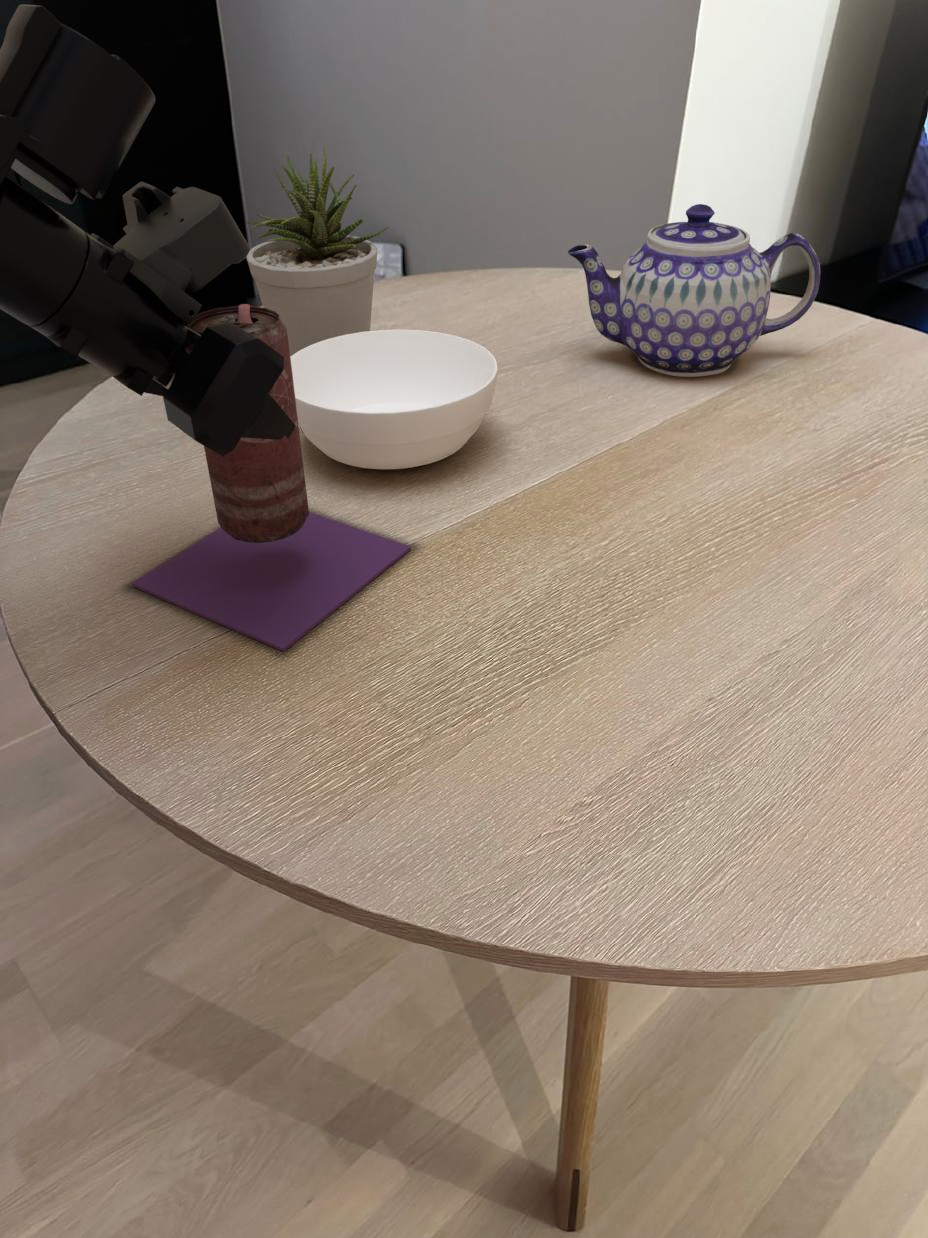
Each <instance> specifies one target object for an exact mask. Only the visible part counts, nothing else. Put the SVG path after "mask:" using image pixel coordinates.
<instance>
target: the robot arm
mask: <svg viewBox="0 0 928 1238" xmlns="http://www.w3.org/2000/svg"><path fill="white" fill-rule="evenodd" d="M156 100H157V99H156V95H155V93H154V92H153V90H152V89H151V87H150V86H149V85H148V83H147V82H146V80H144V78H143V77H142V76H141V75H140V74H139V73H138V72H137V70H136V69H134V68H133V67H132V66H131V65H130V64H129V63H128V62H127V61H126V60H125V59H124V58H122V57H121V56H119V55H117V54H111V53H109V52H108V51H107V50H106V49H105V48H103V47H102V46H101V45H99V44H98V43H96V42H94V41H93V40H92V39H90V38H89V37H87V36H86V35H84V34H83V33H81V32H79V31H77V30H76V29H74V28H72V27H70V26H68V25H66V24H64V23H62V22H61V21H60V20H59V19H58V18H56V17H55V15H53V14H52V13H51V12H50V11H49V10H48V9H47V8H46V7H45V6H43V5H37V4H36V5H35V4H19V5H18V6H17V8H16V10H15V12H14V14H13V16H12V17H11V18H10V20H9V22H8V25H7V27H6V31H5V36H4V39H3V43H2V45H1V47H0V310H1V311H2V312H4V313H5V314H6V315H7V314H8V315H9V316H11V317H13V318H14V319H16V320H17V321H19V322H21V323H23V324H24V325H26V326H27V327H29V328H31V329H32V330H34V331H36V332H37V333H39V334H41V335H43V336H44V337H45V338H47V339H48V340H49V341H51V342H52V343H53V344H54V345H56V346H57V347H58V348H60V349H61V350H63V351H65V352H67V353H68V354H70V355H72V356H73V357H75V358H78V357H79V358H81V359H83V360H84V361H86V362H87V363H89V364H91V365H93V366H95V367H96V368H98V369H100V370H101V371H103V372H105V373H106V374H108V375H109V376H111V377H112V378H114V380H117V381H118V382H119V383H120V384H122V385H123V386H125V387H126V388H127V389H129V390H131V391H132V392H134V393H136V394H137V395H139V396H140V397H142V396H143V395H144V393H145V394H150V395H155V396H158V397H162V399H163V405H164V409H165V413H166V418H167V421H168V422H170V423H171V424H172V425H173V426H175V427H176V428H178V429H179V430H180V431H181V432H183V433H184V434H185V435H186V436H188V437H190V438H191V439H192V440H194V441H195V442H197V443H198V444H200V445H201V446H203V447H204V446H205V447H207V448H209V449H210V450H212V451H214V452H216V453H217V454H219V455H221V456H224V455H226V454H228V453H230V452H232V451H233V450H234V448H235V447H236V445H237V444H238V442H239V440H240V439H241V438H261V439H282V438H283V437H284V436H286V437H287V438H288V439H289V438H290V436H291V435H292V433H293V431H294V430H295V428H296V425H295V424H294V422H293V421H292V420H291V419H290V418H289V416H288V415H287V414H286V413H285V412H284V410H283V409H282V408H281V407H280V406H279V405H278V403H277V402H276V401H275V400H274V399H273V397H272V396H271V395H270V394H269V392H270V391H271V389H272V387H273V386H274V384H275V383H276V381H277V379H278V378H279V376H280V375H281V373H282V371H283V370H284V357H283V356H282V355H281V354H279V353H278V352H277V351H275V350H274V349H273V348H271V347H270V346H269V345H267V344H266V343H265V342H263V341H262V340H260V339H259V338H257V337H256V336H254V335H252V334H250V333H248V332H246V331H244V330H243V329H241V328H239V327H237V326H235V325H233V324H232V323H230V322H225V323H221V324H217V325H213V326H209V327H206V328H205V330H204V332H203V333H202V335H200V334H198V333H196V332H194V331H193V330H191V329H189V328H188V324H191V323H192V321H193V320H194V318H195V317H196V315H197V314H199V311H200V310H201V309H202V307H203V304H201V303H200V302H198V300H196V299H195V298H193V297H192V296H191V295H192V294H194V293H196V292H198V291H200V290H201V289H203V288H204V287H205V286H206V285H207V284H210V282H212V281H213V280H214V279H215V278H217V276H219V275H220V274H221V273H222V272H224V271H225V270H227V269H228V268H229V267H230V266H231V265H233V264H234V265H238V264H240V263H241V262H243V260H244V259H246V257H247V255H248V253H249V251H250V250H251V247H250V244H249V243H248V241H247V240H246V238H245V237H244V234H243V233H242V231H241V230H240V228H239V226H238V225H237V224H238V223H236V220H235V219H234V218H233V216H232V214H231V213H230V211H229V209H228V207H227V206H226V204H225V202H224V201H223V199H222V197H221V196H219V195H218V194H214V193H212V192H209V191H207V190H203V189H201V188H198V187H196V186H190V187H186V188H181V187H179V186H176V187H175V188H172V190H171V191H172V193H173V195H172V196H170V195H168V194H167V193H165V192H164V191H162V190H161V189H159V188H158V187H156V186H154V185H151V184H149V183H146V182H144V181H139V182H138V183H137V184H135V185H134V186H132V187H131V188H130V189H129V190H128V191H126V192H125V193H123V195H122V202H123V206H124V207H123V208H124V212H125V218H126V223H127V224H126V225H125V226H124V227H123V228H122V230H123V231H124V232H125V235H124V236H123V237H121V238H120V239H119V240H118V241H117V242H115V243H114V244H113V245H112V244H111V243H109V242H108V241H107V240H105V239H104V238H103V237H101V236H99V235H97V234H95V233H93V232H92V233H91V234H89V233H88V232H87V231H85V230H84V229H82V228H81V227H79V226H78V225H77V224H75V223H74V222H72V221H71V220H70V219H68V218H67V217H66V216H64V215H63V214H61V213H60V212H58V211H57V210H56V209H55V208H53V207H52V206H50V205H49V204H47V202H44V201H43V200H42V199H41V198H40V197H38V196H37V195H35V194H34V193H32V192H31V191H29V190H28V189H27V188H25V187H24V186H23V185H21V184H20V183H18V182H17V181H15V180H14V179H13V178H11V177H10V176H8V173H9V171H10V170H11V169H12V170H13V171H14V172H15V173H17V174H18V175H20V176H21V177H22V178H23V179H25V180H27V181H28V182H29V183H31V184H32V185H34V186H35V187H37V188H39V189H40V190H41V191H43V192H44V193H46V194H47V195H50V196H51V197H53V198H55V199H57V200H59V201H60V202H63V203H65V204H68V205H72V206H73V205H74V203H75V201H76V199H77V197H78V192H79V193H81V194H82V195H84V196H86V197H87V198H89V199H91V200H93V201H94V200H95V199H101V200H102V199H103V197H104V195H105V193H106V192H107V191H108V189H109V186H110V184H111V183H112V181H113V179H114V177H115V176H116V174H117V172H118V170H119V168H120V167H121V165H122V163H123V161H124V160H125V158H126V156H127V154H128V152H129V150H130V149H131V147H132V145H133V144H134V141H135V140H136V138H137V136H138V134H139V132H140V131H141V129H142V127H143V125H144V123H145V122H146V119H147V118H148V116H149V114H150V112H151V111H152V109H153V107H154V105H155V103H156V102H157V101H156ZM186 348H187V349H189V350H191V353H190V354H188V353H187V352H186Z"/></svg>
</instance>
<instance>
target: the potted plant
mask: <svg viewBox="0 0 928 1238" xmlns="http://www.w3.org/2000/svg"><path fill="white" fill-rule="evenodd" d="M325 148H326V147H323V164H322V169H321V171H322V172H321V178H320V177H319V169H318V164H317V163H318V159H317V158H315V160H314V164H313V156H312V152H310V153H309V176H308V177H309V178H308V179H307V177H305V178H303V176H302V174H301V172H300V171H299V170H297V172H296V170H295V169H294V167H293V166H294V165H293V164H292V161H291V158H290V156H289V154H288V152H287V151H286V150H285V151H284V152H285V157H286V161H287V164H288V167H289V170H290V171H289V170H288V169H287V168H286V167H284V166H283V165H281V168H282V169H283V170H284V172H285V173H286V175H287V177H288V178H289V181H290V182H291V185H292V188H293V189H291V191H290V190H288V188H287V187H286V185H285V184H284V182H283V181H282V179H281V178H280V176H279V174H278V172H277V170H276V168H274V169H273V171H274V173H275V175H276V177H277V179H278V181H279V184H280V186H281V188H282V190H283V191H284V193H285V194H286V196H287V198H288V199H289V201H290V202H291V205H292V206H293V207H294V209H295V211H296V213H297V215H298V216H292V217H290V218H288V217H287V218H272V217H268V216H266V215H261V214H258V213H256V214H255V215H256V216H257V217H260V218H262V219H264V220H265V221H261V222H259V221H258V222H256V221H254V222H253V221H251V222H250V221H248V222H246V224H250V225H252V226H251V229H253V228H258V227H261V226H264V227H270V228H269V229H268V232H265V233H263V234H260V235H258V236H257V238H258V239H261V238H265V237H267V236H273V235H277V236H280V237H276V238H270V239H267V240H266V241H265V242H262V243H260V244H257V245H255V246H253V247H252V248H250V251H249V253H248V255H247V256H246V257H245V259H246V261H247V265H248V267H249V271H250V275H251V276H252V278H253V279H254V281H255V285H256V289H257V292H258V295H259V298H260V300H261V304H262V308H267V309H270V310H273V311H275V312H277V313H278V314H279V316H280V319H281V321H282V322H283V324H284V325H285V327H286V328H287V334H288V342H289V350H290V357H291V356H292V355H294V354H295V353H297V352H298V351H300V350H302V349H304V348H306V347H308V346H310V345H312V344H315V343H318V342H321V341H324V340H327V339H330V338H334V337H338V336H342V335H347V334H353V333H359V332H365V331H371V322H372V321H371V320H372V308H373V296H374V282H375V270H376V269H377V263H378V262H377V261H378V247H377V245H376V244H374V243H373V242H372V241H370V240H371V239H373V238H375V237H377V236H380V235H381V234H382V233H384V232H385V231H387V229H389V226H387V227H384V228H383V229H381V230H379V231H377V232H374V233H372V234H371V233H370V234H368V235H364V236H356V235H351V233H352V232H353V231H354V230H356V229H357V227H359V226H360V225H362V223H364V219H363V216H364V214H363V213H362V214H361V217H360V218H359V219H357V220H356V221H354V222H353V223H350V224H349V225H348V226H346V227H343V228H342V222H341V221H342V218H343V216H344V214H345V212H346V209H347V207H348V204H349V202H350V201H351V200H352V199H353V197H352V195H353V193H354V191H355V189H356V188H357V184H354V186H353V188H351V190H350V191H349V193H348V194H347V196H346V197H345V199H343V200H340V197H339V196H340V195H341V193H342V191H343V189H344V188H345V187H346V186H347V184H348V183H349V182H350V181H351V180H352V179H353V177H354V176H355V173H354V174H352V175H350V176H349V177H348V178H347V179H346V180H345V181H344V183H343V184H342V185H341V186H340V187H339V189H338V190H337V192H336V189H335V188H334V186H333V184H332V182H331V177H332V175H333V173H334V170H335V167H334V166H333V167H331V168H330V169H329V171H327V153H326V149H325ZM297 173H298V174H297ZM298 175H299V176H298ZM320 179H321V180H320ZM329 187H330V189H331V191H332V193H333V195H334V196H333V198H332V200H331V202H330V203H329V206H328V208H326V205H327V198H328V192H329ZM326 209H327V210H326Z"/></svg>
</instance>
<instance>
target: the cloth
mask: <svg viewBox="0 0 928 1238" xmlns="http://www.w3.org/2000/svg"><path fill="white" fill-rule="evenodd" d="M411 550H412V546H410V545H408V544H405V543H401V542H399V541H395V540H393V539H390V538H387V537H384V536H381V535H379V534H375V533H373V532H369V531H368V530H367V531H366V530H364V529H360V528H358V527H354V526H351V525H348V524H346V523H343V522H340V521H337V520H334V519H331V518H328V517H326V516H322V515H319V514H317V513H314V512H310V511H309V515H308V517H307V519H306V521H305V523H304V524H303V526H302V528H301V529H300V530H298V531H297V532H296V533H295V534H293V535H291V536H289V537H286V538H284V539H281V540H277V541H273V542H265V543H250V542H243V541H240V540H236V539H234V538H232V537H231V536H229V535H228V534H227V533H226V532H225V531H224V530H223V529H222V528H221V526H220V527H218V528H217V529H215V530H214V531H212V532H211V533H209V534H208V535H206V536H204V537H203V538H201V539H199V540H198V541H196V542H195V543H193V544H192V545H190V546H188V547H187V548H185V549H183V550H182V551H181V552H178V553H177V554H176V555H174V556H172V557H171V558H169V559H168V560H166V561H164V562H163V563H161V564H160V565H158V566H156V567H155V568H153V569H151V570H150V571H148V572H147V573H145V574H144V575H142V576H140V577H139V578H137V579H135V580H134V581H132V582H131V587H133V588H135V589H138V590H140V591H142V592H144V593H146V594H149V595H151V596H154V597H156V598H159V599H160V600H163V601H165V602H167V603H169V604H172V605H174V606H177V607H179V608H181V609H183V610H186V611H188V612H190V613H192V614H195V615H197V616H200V617H202V618H204V619H206V620H209V621H212V622H214V623H216V624H219V625H221V626H222V627H225V628H228V629H229V630H232V631H234V632H237V633H239V634H241V635H243V636H246V637H249V638H251V639H253V640H256V641H257V642H260V643H262V644H264V645H266V646H270V647H271V648H274V649H276V650H279V651H281V652H283V653H284V652H286V651H287V650H288V649H289V648H291V647H292V646H293V645H294V644H295V643H297V642H298V641H299V640H301V639H302V638H303V637H304V636H306V635H307V634H308V633H309V632H310V631H312V630H313V629H314V628H316V626H318V625H319V624H320V623H322V622H323V621H324V620H325V619H326V618H328V617H329V616H331V614H333V613H334V612H335V611H336V610H338V609H339V608H340V607H342V606H343V605H344V604H345V603H346V602H348V601H349V600H350V599H352V598H353V597H354V596H355V595H357V594H358V593H360V591H361V590H363V589H364V588H365V587H367V586H368V585H369V584H370V583H372V582H373V581H374V580H375V579H377V578H378V577H379V576H380V575H381V574H382V573H384V572H385V571H386V570H388V569H389V568H390V567H391V566H393V565H394V564H395V563H396V562H398V561H399V560H400V559H402V557H404V556H405V555H406V554H408V553H409V552H410V551H411Z"/></svg>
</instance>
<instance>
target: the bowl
mask: <svg viewBox="0 0 928 1238" xmlns="http://www.w3.org/2000/svg"><path fill="white" fill-rule="evenodd" d="M290 359H291V367H292V375H293V384H294V392H295V400H296V408H297V417H298V425H299V427H300V428H301V430H302V433H303V434H304V435H305V437H306V439H307V440H308V441H309V442H310V443H312V445H314V446H315V447H316V448H317V449H319V450H320V451H321V453H323V454H325V455H326V456H327V457H328V458H330V459H332V460H334V461H336V462H339V463H341V464H345V465H348V466H350V467H356V468H363V469H370V470H371V469H372V470H401V469H408V468H409V469H410V468H415V467H416V468H417V467H420V466H425V465H429V464H432V463H435V462H438V461H441V460H444V459H445V458H448V457H450V456H452V455H453V454H455V453H456V452H458V451H459V450H461V449H462V448H463V447H464V446H465V444H466V443H467V442H468V441H469V440H470V439H471V437H473V436H474V434H475V433H476V432H477V431H478V430H479V428H480V425H481V423H482V420H483V417H484V416H485V415H486V413H487V412H488V411H489V410H490V407H491V405H492V402H493V399H494V394H495V389H496V384H497V379H498V374H499V365H498V361H497V360H496V358H495V356H494V355H493V353H492V352H490V351H489V350H488V349H487V348H486V347H485V346H483V345H481V344H478V343H477V342H475V341H473V340H470V339H467V338H464V337H461V336H458V335H454V334H449V333H444V332H439V331H431V330H424V329H423V330H422V329H405V328H404V329H403V328H401V329H379V330H370V331H365V332H359V333H353V334H347V335H342V336H338V337H334V338H330V339H327V340H324V341H321V342H318V343H315V344H312V345H310V346H308V347H306V348H304V349H302V350H300V351H298V352H297V353H295V354H294V355H292V356H291V357H290Z"/></svg>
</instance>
